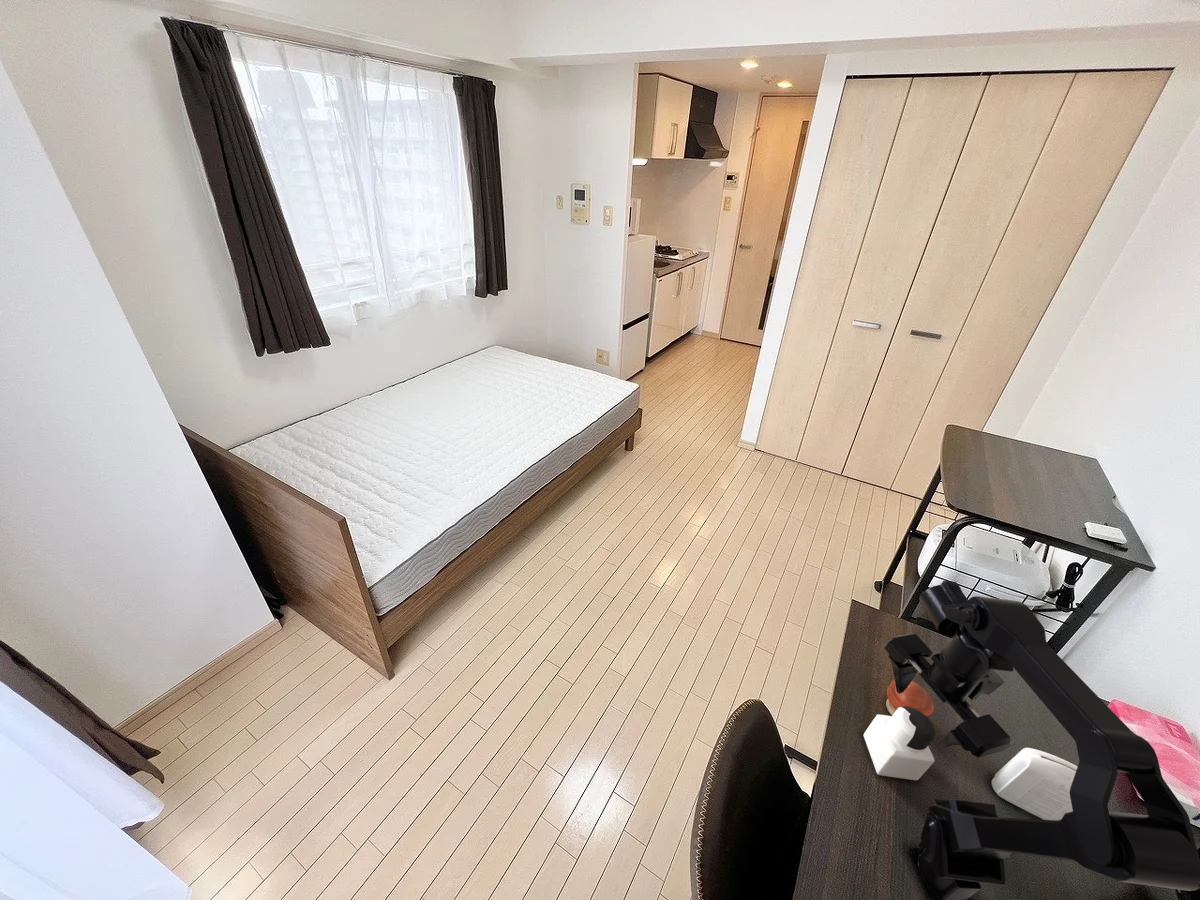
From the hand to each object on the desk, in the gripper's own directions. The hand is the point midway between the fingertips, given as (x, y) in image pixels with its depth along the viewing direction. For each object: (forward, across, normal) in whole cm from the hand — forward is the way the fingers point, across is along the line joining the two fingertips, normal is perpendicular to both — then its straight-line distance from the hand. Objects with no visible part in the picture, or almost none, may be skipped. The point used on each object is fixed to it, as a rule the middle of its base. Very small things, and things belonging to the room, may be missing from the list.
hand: (919, 718), depth 81 cm
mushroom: (+13, +7, -9) cm, 17 cm away
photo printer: (+13, -11, -19) cm, 25 cm away
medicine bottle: (+13, 0, 0) cm, 13 cm away
